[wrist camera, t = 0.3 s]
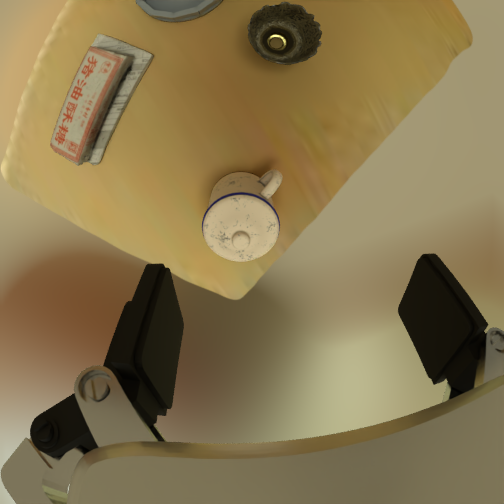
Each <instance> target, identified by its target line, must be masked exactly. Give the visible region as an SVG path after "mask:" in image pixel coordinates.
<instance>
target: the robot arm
mask: <svg viewBox="0 0 504 504" xmlns="http://www.w3.org/2000/svg"><path fill="white" fill-rule="evenodd" d="M398 313H399V316H400V318H401V320H402V322H403V324H404V326H405V328H406V330H407V332H408V334H409V336H410V338H411V340H412V342H413V344H414V346H415V348H416V351H417V353H418V355H419V357H420V359H421V361H422V363H423V366H424V368H425V371H426V373H427V375H428V377H429V378H431V379H432V382H433V384H434V385H435V384H437V383H440V382H442V381H444V380H445V379H447V381H448V382H447V386H446V390H445V394H444V398H443V401H442V403H440V404H438V405H435V406H432V407H430V408H427V409H424V410H421V411H419V412H416V413H413V414H410V415H407V416H404V417H401V418H397V419H394V420H391V421H388V422H384V423H380V424H377V425H373V426H369V427H364V428H360V429H356V430H351V431H347V432H342V433H336V434H331V435H325V436H319V437H313V438H305V439H297V440H288V441H277V442H263V443H238V444H208V443H181V442H167V441H166V440H165V438H164V437H163V436H162V434H161V433H160V431H159V430H158V429H157V427H156V426H155V425H154V424H155V423H156V421H157V415H162V416H166V412H167V409H171V407H172V403H173V395H174V388H175V380H176V374H177V367H178V359H179V353H180V347H181V341H182V335H183V328H184V323H183V318H182V315H181V311H180V307H179V303H178V300H177V296H176V292H175V288H174V284H173V280H172V276H171V272H170V269H169V268H165V266H164V264H147V265H146V267H145V269H144V272H143V274H142V277H141V279H140V282H139V284H138V286H137V289H136V291H135V294H134V297H133V299H132V301H128V302H127V303H126V305H125V306H124V309H123V311H122V314H121V316H120V319H119V322H118V324H117V327H116V330H115V333H114V336H113V338H112V341H111V344H110V347H109V350H108V353H107V356H106V359H105V362H104V365H103V366H100V365H99V366H91V367H89V368H86V369H85V370H84V371H82V372H81V373H80V374H79V376H78V377H77V379H76V381H75V385H74V392H75V393H74V394H72V395H71V396H69V397H67V398H66V399H64V400H62V401H61V402H59V403H58V404H56V405H54V406H53V407H51V408H50V409H48V410H46V411H45V412H43V413H41V414H40V415H38V416H37V417H36V418H35V419H34V421H33V422H32V425H31V429H30V436H31V438H30V439H28V438H25V439H24V441H23V442H22V443H21V444H20V445H19V447H18V448H17V449H16V450H15V452H14V453H13V454H12V455H11V457H10V458H9V459H8V460H7V462H6V463H5V464H4V465H3V468H2V470H1V478H2V482H3V484H4V486H5V488H6V489H7V491H8V492H9V494H10V495H11V497H12V498H13V500H14V501H15V502H16V504H504V331H502V330H500V329H499V328H490V329H489V330H488V332H487V333H485V332H484V330H485V329H486V327H487V326H488V323H487V322H486V320H485V319H484V317H483V316H482V314H481V313H480V311H479V310H478V308H477V307H476V305H475V304H474V303H473V301H472V300H471V298H470V297H469V295H468V294H467V293H466V292H465V290H464V289H463V287H462V286H461V285H460V283H459V282H458V281H457V280H456V278H455V277H454V275H453V274H452V273H451V272H450V270H449V269H448V268H447V267H446V265H445V264H444V263H443V262H442V261H441V259H440V258H439V257H438V256H437V255H436V254H423V255H422V256H421V257H420V258H419V259H418V261H417V263H416V266H415V269H414V271H413V274H412V276H411V279H410V281H409V284H408V286H407V289H406V291H405V293H404V295H403V298H402V300H401V302H400V304H399V307H398ZM69 484H70V486H69ZM68 486H69V492H68V494H67V490H68Z"/></svg>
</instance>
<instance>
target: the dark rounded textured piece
mask: <svg viewBox="0 0 504 504" xmlns="http://www.w3.org/2000/svg"><path fill="white" fill-rule="evenodd" d="M313 19H314V15H313V14H308V13H307V12H306V10H305V9H304V7H302V6H300V5H294V4H293V5H292V4H290V3H288V2H282V3H281V4H280V5H273V6H269V5H265V6H264V7H262V9H261V10H258V11H256V12H255V13H254V14H253V16H252V18H251V21H250V24H249V25H248V31H249V33H248V38H249V41H250V43H251V45H252V46H253V48H254V49H255V51H256V52H257V53H258V54H259V55H260V56H261V57H263V58H264V59H266V60H268V61H271V62H274V63H278V64H285V65H291V64H294V63H299V62H303V61H306V60H308V58H310V57H312V56H314V55H315V54H316V53H317V48H318V47H319V46H320V45H321V41H319V39H320V38H321V35H322V31H320V24H319V23H318V22H316V21H313ZM272 38H280V39H281V40H282V42H283V45H282V47H281V48H278V49H275V48H273V47H271V45H270V40H271V39H272Z"/></svg>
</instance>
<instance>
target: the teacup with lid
mask: <svg viewBox="0 0 504 504" xmlns="http://www.w3.org/2000/svg"><path fill="white" fill-rule="evenodd" d="M281 182H282V174H281V173H280V172H279V171H278V170H276V169H272V170H269V171H268V172H266V173H265V174H264V175H263V176H262V177H261V178H259V177H257V176H256V175H253V174H251V173H247V172H235V173H231V174H228V175H226V176H224V177H223V178H222V179H220V180H219V181H218V182H217V183H216V185H215V186H214V188H213V190H212V193H211V197H210V201H209V205H208V209H207V211H206V213H205V215H204V217H203V222H202V231H203V236H204V238H205V240H206V242H207V244H208V246H209V247H210V248H211V249H212V250H213V251H214V252H215V253H216V254H218V255H219V256H221V257H223V258H225V259H228V260H232V261H241V262H242V261H250V260H254V259H257V258H259V257H261V256H262V255H264V254H265V253H267V252H268V251H269V250H270V249H271V248H272V247H273V245H274V244H275V242H276V240H277V238H278V235H279V231H280V222H279V217H278V215H277V213H276V211H275V209H274V206H273V202H272V198H271V196H272V195H273V194H274V193H275V191H276V190H277V189H278V187H279V186H280V184H281Z"/></svg>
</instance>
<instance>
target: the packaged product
mask: <svg viewBox="0 0 504 504" xmlns="http://www.w3.org/2000/svg"><path fill="white" fill-rule="evenodd" d="M153 57H154V56H153V55H152V54H150V53H149V52H147V51H145V50H142V49H140V48H137V47H134V46H131V45H129V44H127V43H125V42H123V41H121V40H118V39H116V38H113V37H109V36H105V35H102V34H98V35H97V37H96V39H95V41H94V43H93V44H92V45H91V47H90V48H89V50H88V52H87V53H86V55H85V57H84V59H83V61H82V63H81V65H80V67H79V69H78V71H77V73H76V75H75V78H74V80H73V82H72V85H71V87H70V89H69V92H68V94H67V96H66V99H65V102H64V104H63V107H62V109H61V112H60V115H59V117H58V121H57V123H56V126H55V129H54V133H53V136H52V139H51V143H50V146H51V147H52V149H53V150H54V152H56V153H58V154H59V155H62V156H63V157H65V158H66V159H68V160H69V161H72V162H73V163H75V164H76V165H78V166H79V165H80V164H81V165H82V164H83V162H89V163H91V164H92V165H98V164H99V163H100V162H101V159H102V156H103V154H104V151H105V149H106V146H107V144H108V142H109V140H110V138H111V136H112V134H113V132H114V130H115V128H116V126H117V124H118V122H119V120H120V118H121V116H122V114H123V112H124V110H125V108H126V106H127V104H128V102H129V100H130V99H131V97H132V95H133V93H134V91H135V89H136V88H137V86H138V84H139V82H140V80H141V78H142V76H143V75H144V73H145V71H146V69H147V68H148V66H149V64H150V62H151V61H152V59H153Z"/></svg>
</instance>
